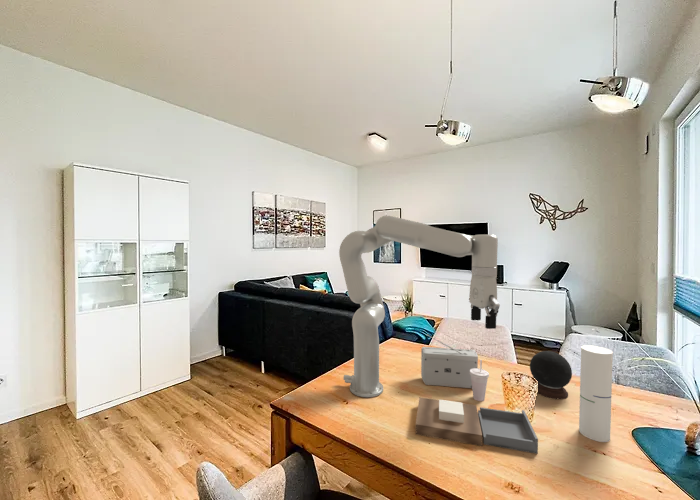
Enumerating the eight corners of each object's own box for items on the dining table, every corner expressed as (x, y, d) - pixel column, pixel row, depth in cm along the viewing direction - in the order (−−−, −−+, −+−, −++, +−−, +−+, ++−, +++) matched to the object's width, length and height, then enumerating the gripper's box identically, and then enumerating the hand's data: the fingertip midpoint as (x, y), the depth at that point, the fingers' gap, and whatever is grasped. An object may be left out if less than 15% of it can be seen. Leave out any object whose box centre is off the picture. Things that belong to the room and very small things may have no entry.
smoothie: (490, 404, 106) (491, 364, 106) (470, 402, 107) (471, 362, 107) (486, 394, 112) (486, 357, 112) (467, 393, 114) (468, 355, 113)
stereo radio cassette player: (474, 381, 124) (475, 331, 123) (479, 391, 115) (480, 338, 115) (421, 377, 127) (421, 329, 127) (422, 386, 119) (422, 335, 118)
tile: (438, 419, 92) (439, 411, 92) (439, 407, 99) (439, 399, 99) (463, 423, 90) (463, 414, 90) (462, 410, 97) (462, 402, 97)
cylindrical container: (612, 445, 85) (615, 355, 84) (580, 436, 89) (582, 350, 88) (607, 431, 91) (610, 348, 90) (577, 423, 95) (579, 343, 94)
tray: (483, 444, 85) (484, 430, 85) (478, 416, 99) (478, 403, 99) (537, 453, 82) (538, 439, 81) (523, 423, 95) (524, 410, 95)
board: (415, 434, 90) (415, 424, 90) (419, 405, 105) (419, 397, 105) (482, 446, 85) (482, 435, 84) (476, 414, 100) (476, 405, 100)
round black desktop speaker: (565, 405, 106) (566, 361, 105) (523, 390, 116) (524, 351, 115) (575, 392, 114) (576, 352, 114) (536, 380, 124) (537, 343, 124)
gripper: (461, 269, 109) (460, 317, 110) (486, 275, 92) (485, 332, 92) (482, 269, 109) (481, 317, 110) (510, 275, 92) (509, 331, 93)
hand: (482, 324), depth 101 cm, fingers open, 9 cm apart
